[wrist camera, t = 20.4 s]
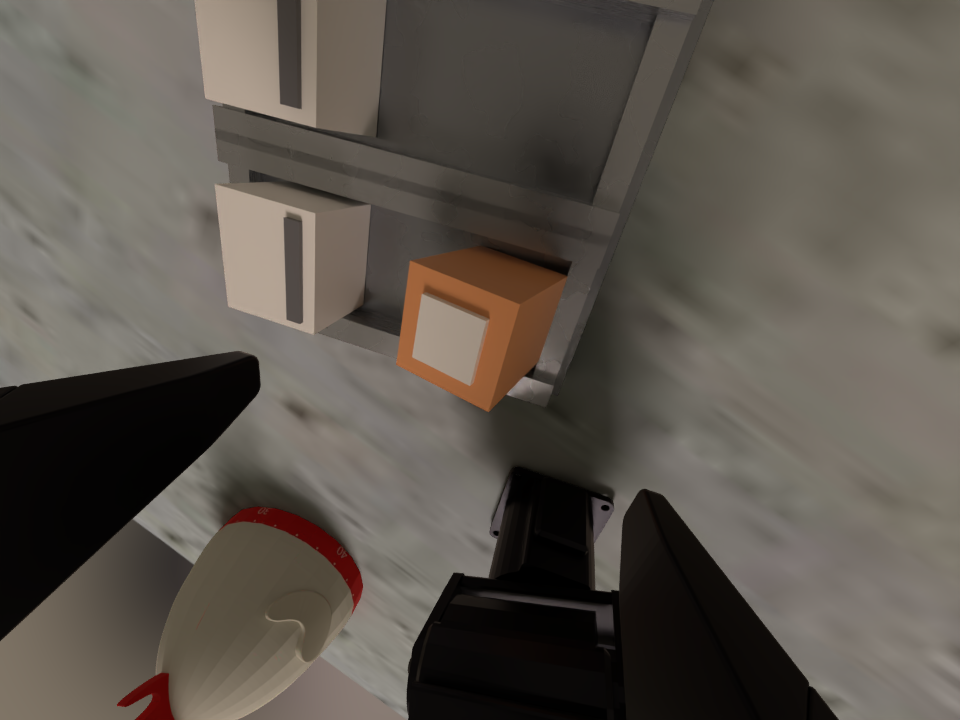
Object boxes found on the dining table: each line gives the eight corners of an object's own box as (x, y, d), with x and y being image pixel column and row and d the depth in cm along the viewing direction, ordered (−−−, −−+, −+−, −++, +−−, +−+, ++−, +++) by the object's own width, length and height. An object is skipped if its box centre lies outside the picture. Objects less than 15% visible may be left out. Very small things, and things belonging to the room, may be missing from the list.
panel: (559, 376, 20) (555, 413, 17) (270, 284, 22) (221, 303, 19) (806, -263, 10) (899, -442, 7) (239, -335, 12) (125, -503, 9)
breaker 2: (363, 304, 19) (311, 336, 15) (291, 282, 19) (224, 307, 16) (370, 204, 17) (311, 213, 13) (289, 181, 17) (210, 184, 13)
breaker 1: (376, 137, 15) (312, 127, 12) (287, 114, 16) (200, 97, 12) (388, -20, 13) (313, -93, 10) (284, -43, 14) (174, -121, 10)
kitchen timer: (284, 611, 40) (141, 824, 27) (202, 517, 36) (-17, 715, 23) (389, 607, 35) (274, 869, 22) (307, 496, 31) (102, 739, 17)
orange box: (538, 361, 17) (485, 415, 13) (463, 327, 18) (392, 367, 14) (567, 276, 15) (516, 306, 11) (481, 245, 16) (405, 261, 12)
